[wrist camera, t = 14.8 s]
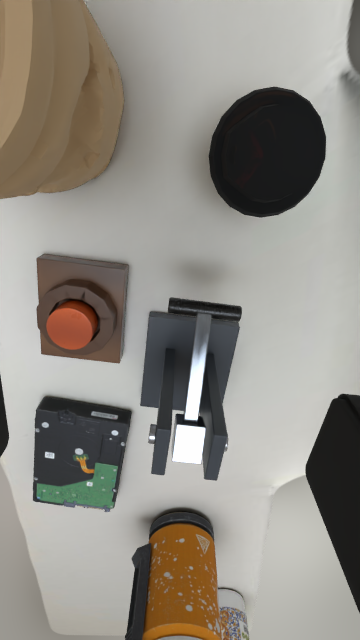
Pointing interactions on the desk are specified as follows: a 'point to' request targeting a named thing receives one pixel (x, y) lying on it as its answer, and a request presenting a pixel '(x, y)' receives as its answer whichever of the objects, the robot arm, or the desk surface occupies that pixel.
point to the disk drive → (78, 453)
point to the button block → (90, 288)
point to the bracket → (171, 383)
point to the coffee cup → (267, 152)
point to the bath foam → (232, 615)
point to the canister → (176, 582)
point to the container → (54, 97)
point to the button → (72, 325)
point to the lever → (196, 376)
